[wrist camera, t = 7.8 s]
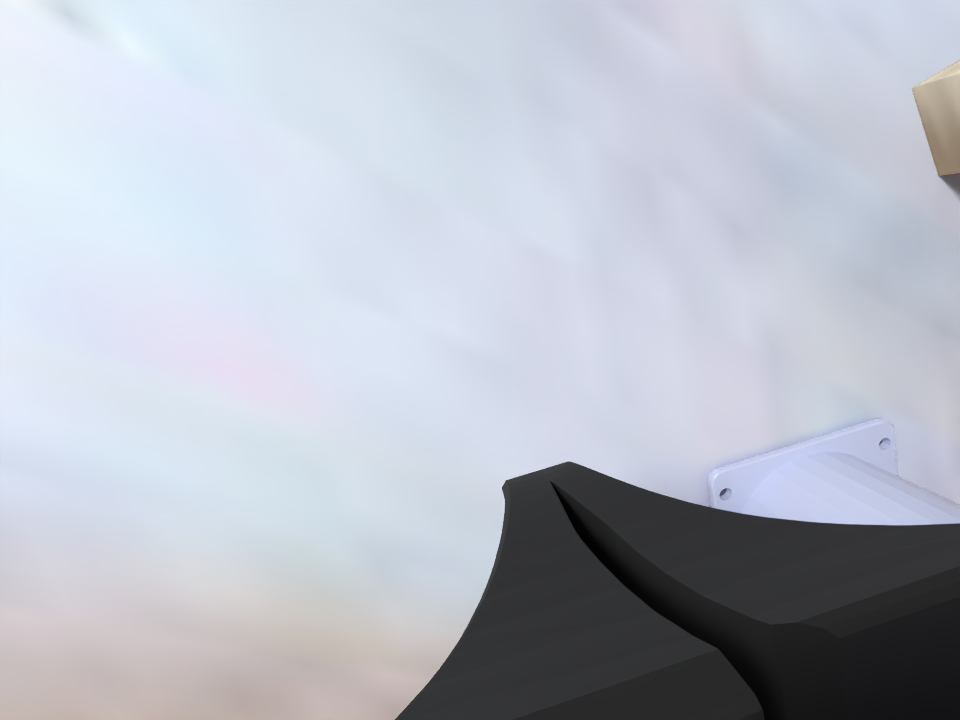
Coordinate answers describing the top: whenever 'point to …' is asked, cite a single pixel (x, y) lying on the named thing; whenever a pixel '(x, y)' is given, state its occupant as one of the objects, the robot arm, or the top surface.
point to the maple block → (941, 117)
